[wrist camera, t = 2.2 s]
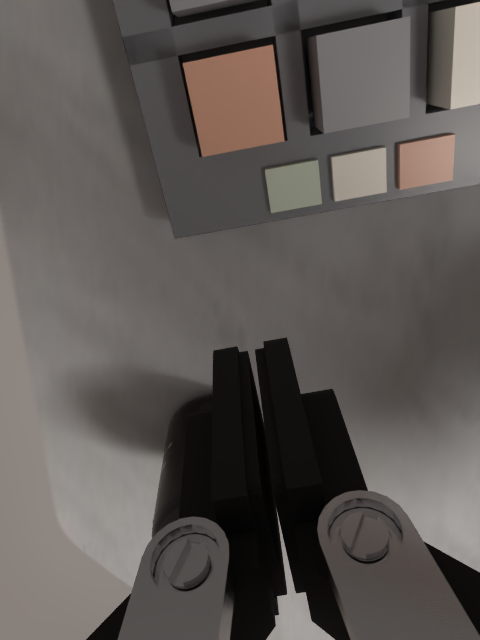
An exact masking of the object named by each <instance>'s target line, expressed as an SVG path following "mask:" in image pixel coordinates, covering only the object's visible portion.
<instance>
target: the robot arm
mask: <svg viewBox="0 0 480 640" xmlns="http://www.w3.org/2000/svg"><path fill="white" fill-rule="evenodd" d="M263 343H264V348H261V349H256V350H255V354H256V362H257V370H258V378H259V386H260V394H261V402H262V410H263V418H264V423H263V418H262V414H261V409H260V404H259V400H258V395H257V391H256V386H255V381H254V377H253V372H252V368H251V363H250V358H249V354H248V351H245V352H239V350H238V347H231V348H225V349H220V350H214V351H213V401H212V410H207V411H201V412H195V413H189V415H188V418H187V426H186V438H185V450H184V462H183V474H182V486H181V498H180V510H179V520H176V521H174V522H172V523H170V524H168V525H166V526H165V527H164V528H163V529H161V530H160V531H159V532H157V533H156V535H155V536H154V537H153V538H152V540H151V541H150V542H149V543H148V545H147V547H146V549H145V552H144V554H143V556H142V559H141V562H140V566H139V569H138V572H137V576H136V579H135V582H134V586H133V589H132V593H131V594H130V595H129V596H128V597H127V598H126V599H125V600H124V601H123V602H122V603H121V604H120V605H119V606H118V607H117V608H116V609H115V610H114V611H113V612H112V614H111V615H110V616H109V617H108V618H107V619H106V620H105V621H104V622H103V623H102V624H101V625H100V626H99V627H98V628H97V629H96V630H95V631H94V632H93V633H92V634H91V635H90V636H89V637H88V638H87V639H86V640H266V639H267V637H268V636H269V634H270V633H271V632H272V630H273V629H274V627H275V626H276V624H275V615H279V611H278V602H277V596H281V595H287V588H286V580H285V572H284V564H283V556H282V549H281V541H280V533H279V525H278V517H277V512H278V516H279V521H280V525H281V530H282V534H283V538H284V543H285V547H286V552H287V556H288V560H289V565H290V569H291V574H292V578H293V582H294V587H295V591H296V593H301V592H306V595H307V600H308V605H309V610H310V615H311V619H312V621H313V622H314V623H315V624H317V625H318V626H319V627H320V628H322V629H323V630H324V631H325V632H327V633H328V634H329V635H330V636H332V637H333V638H334V639H335V640H480V573H479V572H478V571H476V570H474V569H472V568H470V567H469V566H467V565H465V564H463V563H461V562H460V561H458V560H456V559H454V558H452V557H451V556H449V555H447V554H445V553H443V552H442V551H440V550H438V549H436V548H434V547H433V546H431V545H429V544H427V543H425V542H424V541H423V540H422V538H421V537H420V535H419V533H418V532H417V530H416V528H415V527H414V525H413V523H412V522H411V520H410V518H409V517H408V515H407V514H406V513H405V512H404V510H403V509H402V508H401V507H400V506H399V505H398V504H397V503H395V502H394V501H393V500H391V499H390V498H388V497H387V496H384V495H381V494H379V493H376V492H372V491H368V490H367V487H366V484H365V481H364V478H363V475H362V472H361V469H360V466H359V463H358V460H357V457H356V455H355V452H354V449H353V446H352V443H351V440H350V437H349V434H348V431H347V428H346V425H345V422H344V420H343V417H342V414H341V411H340V408H339V405H338V402H337V399H336V396H335V394H334V391H333V390H332V389H329V390H323V391H317V392H311V393H305V394H301V393H300V389H299V385H298V381H297V377H296V373H295V369H294V365H293V360H292V356H291V352H290V348H289V344H288V340H287V337H286V338H281V339H275V340H270V341H264V342H263ZM264 426H265V427H264ZM276 508H277V510H276Z"/></svg>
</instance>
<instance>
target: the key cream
mask: <svg viewBox="0 0 480 640" xmlns="http://www.w3.org/2000/svg"><path fill="white" fill-rule="evenodd" d="M427 104H429V105H433V106H437V107H442V108H446V109H450V110H451V109H456V108H461V107H467V106H472V105H477V104H480V2H477V3H472V4H467V5H462V6H457V7H453V8H448V9H444V10H439V11H435V12H430V13H429V32H428V71H427Z"/></svg>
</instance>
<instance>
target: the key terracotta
mask: <svg viewBox="0 0 480 640" xmlns="http://www.w3.org/2000/svg"><path fill="white" fill-rule="evenodd" d="M183 67H184V72H185V77H186V82H187V86H188V91H189V96H190V101H191V105H192V110H193V115H194V120H195V124H196V129H197V134H198V139H199V143H200V148H201V153H202V157H205V156H210V155H216V154H221V153H226V152H231V151H236V150H242V149H247V148H252V147H257V146H263V145H268V144H273V143H278V142H284V141H285V140H284V132H283V124H282V116H281V107H280V99H279V91H278V83H277V74H276V66H275V58H274V50H273V45H268V46H264V47H259V48H254V49H249V50H244V51H239V52H235V53H230V54H225V55H220V56H215V57H210V58H205V59H201V60H196V61H191V62H186V63H183Z"/></svg>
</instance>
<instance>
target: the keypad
mask: <svg viewBox="0 0 480 640" xmlns="http://www.w3.org/2000/svg"><path fill="white" fill-rule="evenodd" d="M477 2H480V0H113V4H114V8H115V12H116V15H117V19H118V23H119V27H120V31H121V34H122V38H123V42H124V46H125V50H126V54H127V57H128V61H129V65H130V69H131V73H132V76H133V80H134V84H135V88H136V92H137V96H138V99H139V103H140V107H141V111H142V115H143V118H144V122H145V126H146V130H147V134H148V138H149V141H150V145H151V149H152V153H153V157H154V160H155V164H156V168H157V172H158V176H159V180H160V183H161V187H162V191H163V195H164V199H165V202H166V206H167V210H168V214H169V218H170V222H171V225H172V229H173V233H174V237H175V239H176V238H182V237H188V236H193V235H199V234H204V233H210V232H216V231H221V230H227V229H232V228H238V227H243V226H249V225H255V224H260V223H266V222H271V221H277V220H282V219H288V218H294V217H299V216H305V215H310V214H316V213H322V212H327V211H333V210H338V209H344V208H349V207H355V206H361V205H366V204H372V203H377V202H383V201H389V200H394V199H400V198H405V197H411V196H416V195H422V194H428V193H433V192H439V191H444V190H450V189H456V188H461V187H467V186H472V185H478V184H480V104H477V105H472V106H467V107H461V108H456V109H451V110H450V109H446V108H442V107H437V106H433V105H429V104H427V71H428V32H429V13H430V12H435V11H439V10H444V9H448V8H453V7H457V6H462V5H467V4H472V3H477ZM268 45H273V50H274V58H275V66H276V74H277V83H278V91H279V99H280V107H281V116H282V124H283V132H284V140H285V141H284V142H278V143H273V144H268V145H263V146H257V147H252V148H247V149H242V150H236V151H231V152H226V153H221V154H216V155H210V156H205V157H202V153H201V148H200V143H199V139H198V134H197V129H196V124H195V120H194V115H193V110H192V105H191V101H190V96H189V91H188V86H187V82H186V77H185V72H184V67H183V63H186V62H191V61H196V60H201V59H205V58H210V57H215V56H220V55H225V54H230V53H235V52H239V51H244V50H249V49H254V48H259V47H264V46H268Z"/></svg>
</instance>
